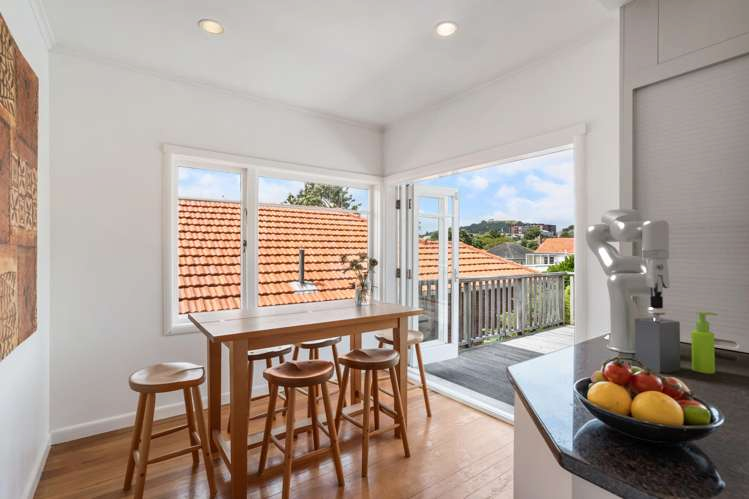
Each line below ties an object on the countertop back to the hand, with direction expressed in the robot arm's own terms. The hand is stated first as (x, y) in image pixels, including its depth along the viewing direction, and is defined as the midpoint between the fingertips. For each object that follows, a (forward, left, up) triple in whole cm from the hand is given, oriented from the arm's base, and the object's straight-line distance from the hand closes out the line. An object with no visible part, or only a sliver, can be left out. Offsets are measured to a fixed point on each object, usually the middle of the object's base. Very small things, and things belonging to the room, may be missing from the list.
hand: (656, 307), depth 131 cm
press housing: (0, 0, -21) cm, 21 cm away
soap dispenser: (+7, +12, -21) cm, 26 cm away
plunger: (0, 0, -19) cm, 19 cm away
